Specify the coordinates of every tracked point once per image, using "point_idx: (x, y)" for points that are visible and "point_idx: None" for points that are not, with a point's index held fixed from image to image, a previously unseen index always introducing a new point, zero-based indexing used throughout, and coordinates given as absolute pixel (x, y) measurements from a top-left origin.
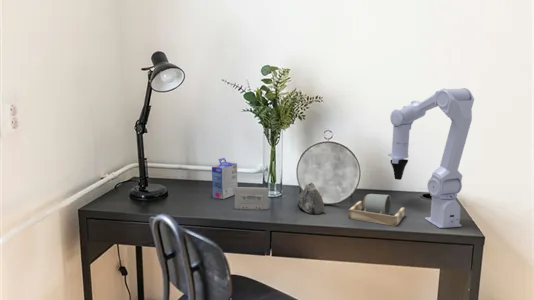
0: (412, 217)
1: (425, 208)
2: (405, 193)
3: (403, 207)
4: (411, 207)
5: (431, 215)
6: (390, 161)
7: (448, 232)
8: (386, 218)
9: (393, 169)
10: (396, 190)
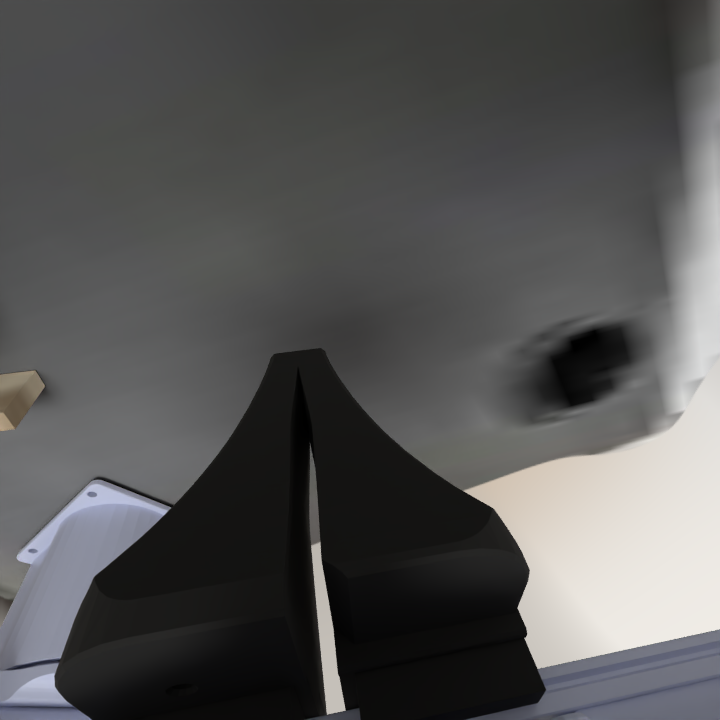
0: (66, 426)
1: None
2: (618, 216)
3: (4, 423)
4: None
5: (56, 542)
6: (107, 604)
7: (7, 578)
8: None
9: (219, 452)
10: (706, 113)
